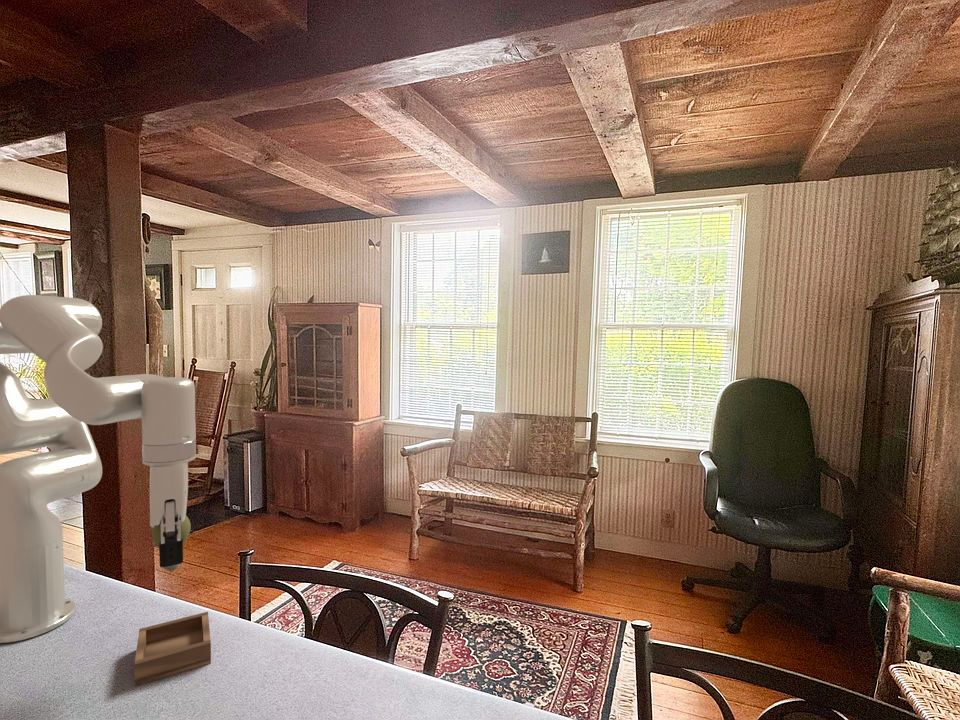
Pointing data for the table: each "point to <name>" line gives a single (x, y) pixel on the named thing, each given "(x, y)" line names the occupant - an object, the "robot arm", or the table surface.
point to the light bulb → (184, 528)
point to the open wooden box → (172, 648)
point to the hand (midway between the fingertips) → (172, 556)
